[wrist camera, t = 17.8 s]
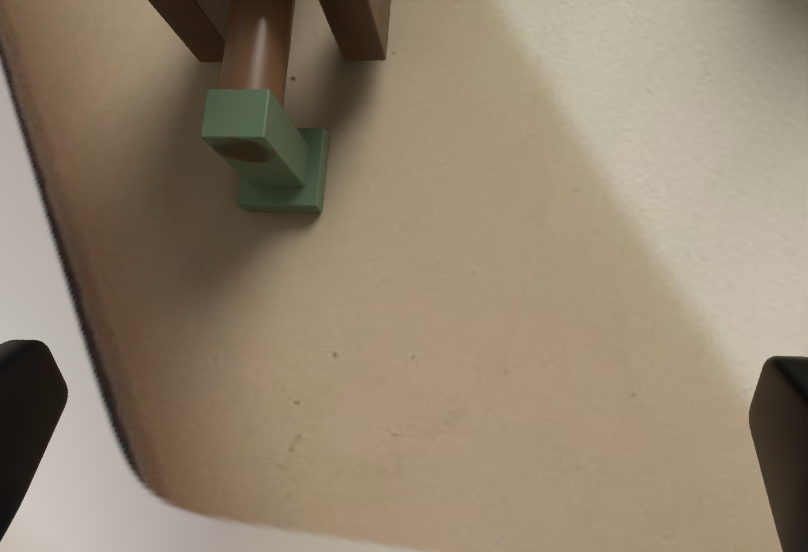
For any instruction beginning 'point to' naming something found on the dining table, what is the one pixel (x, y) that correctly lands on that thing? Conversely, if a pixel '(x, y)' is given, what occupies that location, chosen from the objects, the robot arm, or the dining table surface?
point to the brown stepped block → (342, 5)
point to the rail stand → (263, 114)
